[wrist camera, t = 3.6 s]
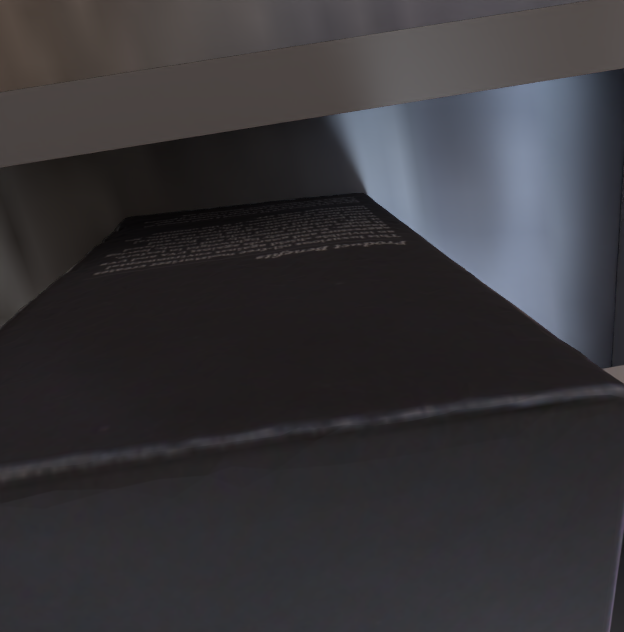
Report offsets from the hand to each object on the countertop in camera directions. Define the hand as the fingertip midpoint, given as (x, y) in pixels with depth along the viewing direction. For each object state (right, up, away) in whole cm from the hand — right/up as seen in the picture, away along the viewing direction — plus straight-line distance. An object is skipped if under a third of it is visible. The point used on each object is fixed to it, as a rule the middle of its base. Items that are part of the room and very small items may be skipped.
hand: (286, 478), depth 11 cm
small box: (0, +1, +4) cm, 4 cm away
